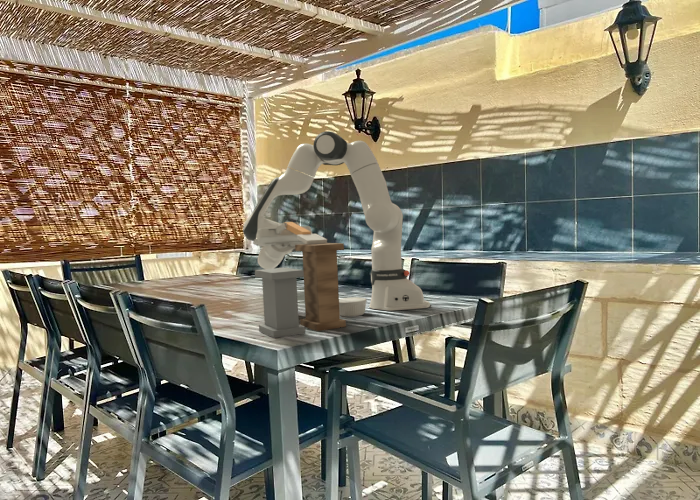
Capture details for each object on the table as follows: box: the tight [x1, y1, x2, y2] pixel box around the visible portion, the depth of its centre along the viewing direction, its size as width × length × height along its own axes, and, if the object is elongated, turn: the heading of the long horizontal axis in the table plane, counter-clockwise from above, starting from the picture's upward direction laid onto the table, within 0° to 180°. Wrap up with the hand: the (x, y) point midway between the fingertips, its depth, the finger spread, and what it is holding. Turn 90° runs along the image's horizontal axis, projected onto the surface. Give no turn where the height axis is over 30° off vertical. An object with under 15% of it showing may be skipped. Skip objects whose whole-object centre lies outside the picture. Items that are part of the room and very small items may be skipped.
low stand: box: [254, 266, 306, 339], centre depth 164 cm, size 14×10×19 cm
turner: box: [283, 221, 328, 244], centre depth 181 cm, size 23×7×2 cm, turn 30°
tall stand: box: [295, 242, 347, 332], centre depth 171 cm, size 14×10×26 cm
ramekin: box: [339, 296, 368, 318], centre depth 191 cm, size 11×11×5 cm
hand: (291, 224), depth 188 cm, fingers closed on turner, 3 cm apart
